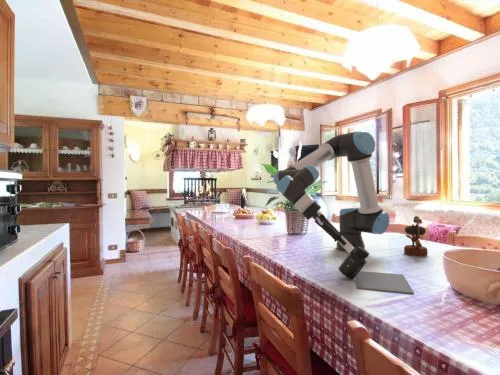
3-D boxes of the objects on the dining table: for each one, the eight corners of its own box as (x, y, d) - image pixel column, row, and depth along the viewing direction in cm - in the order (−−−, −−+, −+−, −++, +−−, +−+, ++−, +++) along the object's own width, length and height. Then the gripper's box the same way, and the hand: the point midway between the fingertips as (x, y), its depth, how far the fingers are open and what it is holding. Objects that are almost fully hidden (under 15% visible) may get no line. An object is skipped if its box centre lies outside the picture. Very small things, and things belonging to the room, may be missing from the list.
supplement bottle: (334, 266, 114) (353, 242, 112) (345, 269, 118) (362, 246, 115) (346, 278, 109) (365, 253, 106) (356, 281, 112) (375, 257, 110)
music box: (435, 257, 143) (431, 217, 142) (412, 259, 143) (409, 219, 143) (418, 249, 158) (414, 213, 157) (397, 251, 158) (394, 215, 158)
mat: (357, 288, 103) (357, 287, 103) (355, 271, 122) (355, 270, 122) (414, 294, 97) (414, 292, 97) (402, 275, 116) (402, 274, 116)
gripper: (303, 211, 124) (344, 252, 119) (298, 215, 112) (344, 261, 107) (316, 199, 123) (358, 240, 117) (312, 201, 110) (359, 247, 105)
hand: (351, 250), depth 112 cm, fingers closed
